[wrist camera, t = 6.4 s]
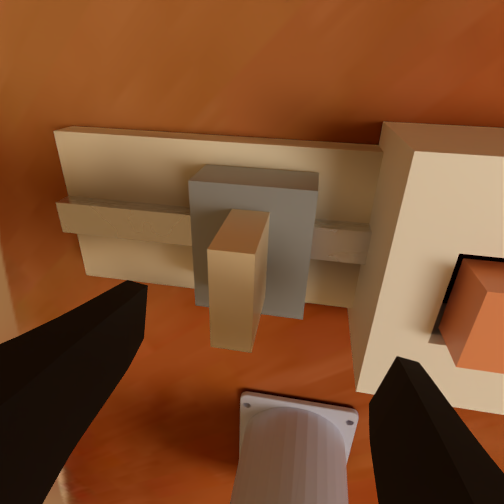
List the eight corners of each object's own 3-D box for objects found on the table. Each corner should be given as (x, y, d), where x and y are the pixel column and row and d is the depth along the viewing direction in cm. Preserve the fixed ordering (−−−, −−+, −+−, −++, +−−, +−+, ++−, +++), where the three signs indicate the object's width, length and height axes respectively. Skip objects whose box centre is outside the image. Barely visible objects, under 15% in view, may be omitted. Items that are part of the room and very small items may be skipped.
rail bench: (349, 292, 20) (352, 308, 18) (100, 262, 22) (86, 274, 20) (378, 145, 16) (383, 152, 15) (72, 125, 18) (53, 130, 17)
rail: (363, 254, 17) (365, 264, 16) (74, 224, 19) (63, 232, 18) (369, 223, 16) (371, 232, 15) (68, 195, 18) (55, 202, 17)
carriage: (305, 288, 18) (297, 380, 13) (210, 277, 19) (167, 359, 14) (318, 172, 15) (317, 230, 10) (206, 164, 16) (149, 213, 11)
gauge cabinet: (496, 331, 19) (561, 431, 14) (345, 312, 20) (354, 398, 15) (588, 132, 14) (742, 172, 9) (382, 121, 15) (414, 151, 10)
